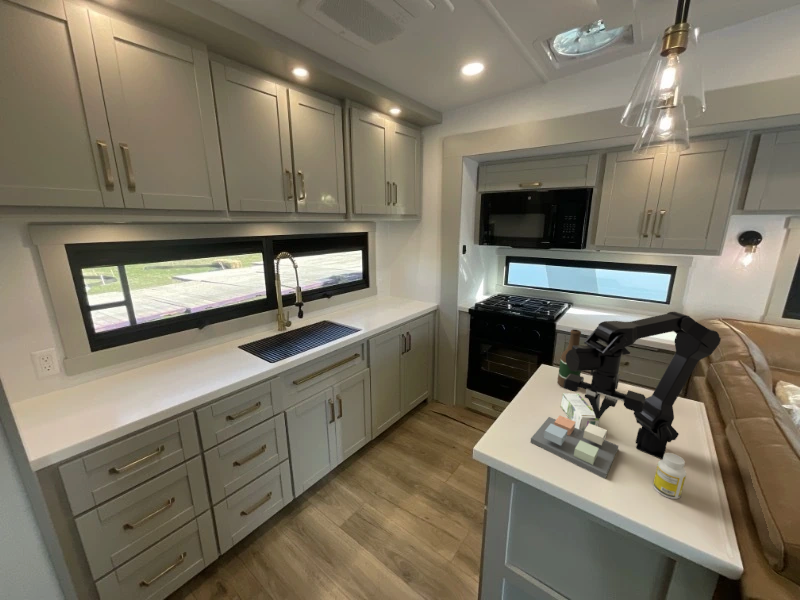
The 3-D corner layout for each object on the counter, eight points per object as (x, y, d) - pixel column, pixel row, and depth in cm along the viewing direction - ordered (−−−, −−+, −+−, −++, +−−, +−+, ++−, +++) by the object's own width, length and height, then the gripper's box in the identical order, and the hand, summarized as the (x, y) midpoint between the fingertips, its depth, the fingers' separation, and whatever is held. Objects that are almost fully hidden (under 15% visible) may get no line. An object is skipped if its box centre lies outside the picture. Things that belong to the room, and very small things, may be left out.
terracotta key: (574, 428, 102) (575, 421, 101) (569, 435, 98) (570, 428, 98) (558, 421, 105) (559, 415, 104) (553, 428, 101) (554, 421, 101)
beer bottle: (552, 382, 133) (560, 328, 127) (566, 379, 135) (575, 326, 129) (568, 392, 126) (577, 335, 120) (582, 388, 128) (592, 332, 122)
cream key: (605, 437, 96) (606, 430, 95) (601, 445, 92) (602, 438, 92) (587, 430, 99) (589, 423, 98) (583, 437, 95) (584, 430, 95)
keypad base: (617, 449, 95) (618, 445, 94) (605, 478, 84) (606, 474, 84) (548, 420, 108) (549, 416, 108) (530, 442, 98) (530, 438, 97)
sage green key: (597, 455, 90) (598, 448, 89) (592, 464, 87) (594, 457, 86) (578, 447, 93) (580, 440, 93) (573, 455, 90) (575, 448, 89)
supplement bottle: (667, 481, 83) (675, 450, 81) (686, 499, 78) (695, 466, 76) (647, 482, 83) (655, 450, 81) (664, 500, 78) (673, 466, 75)
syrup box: (575, 407, 116) (598, 433, 102) (559, 406, 116) (579, 432, 102) (578, 393, 114) (601, 417, 100) (561, 392, 115) (582, 417, 101)
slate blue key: (566, 437, 95) (567, 430, 95) (560, 445, 92) (562, 438, 91) (549, 430, 99) (550, 423, 98) (543, 437, 95) (544, 430, 95)
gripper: (652, 368, 86) (642, 418, 90) (577, 349, 98) (570, 394, 103) (647, 384, 78) (636, 438, 82) (565, 362, 91) (559, 410, 95)
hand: (597, 418), depth 91 cm, fingers closed
